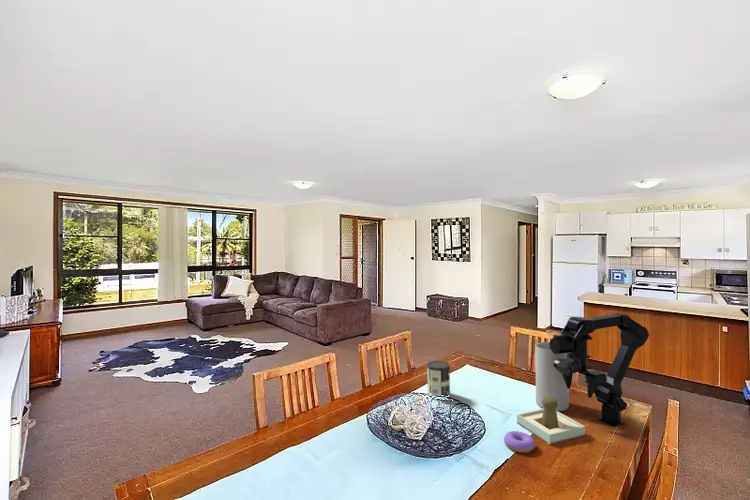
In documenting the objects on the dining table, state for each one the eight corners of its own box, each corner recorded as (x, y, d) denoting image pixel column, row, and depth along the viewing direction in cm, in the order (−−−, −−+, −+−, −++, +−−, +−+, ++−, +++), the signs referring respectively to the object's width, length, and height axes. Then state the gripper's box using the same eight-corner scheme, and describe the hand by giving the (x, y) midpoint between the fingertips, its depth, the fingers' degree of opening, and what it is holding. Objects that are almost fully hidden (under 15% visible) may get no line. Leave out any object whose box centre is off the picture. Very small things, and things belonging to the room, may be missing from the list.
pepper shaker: (561, 432, 133) (561, 402, 132) (543, 431, 134) (543, 401, 133) (556, 424, 139) (556, 395, 138) (539, 423, 140) (538, 394, 139)
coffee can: (447, 390, 173) (447, 360, 173) (452, 399, 163) (451, 368, 163) (426, 390, 174) (425, 360, 173) (428, 399, 163) (428, 368, 163)
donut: (503, 450, 123) (503, 435, 124) (504, 442, 131) (504, 428, 132) (535, 456, 119) (535, 440, 120) (535, 447, 127) (535, 433, 128)
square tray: (550, 415, 146) (549, 407, 146) (584, 435, 131) (584, 426, 131) (517, 423, 141) (517, 414, 141) (549, 444, 126) (549, 434, 126)
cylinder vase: (570, 402, 158) (569, 344, 157) (567, 414, 147) (566, 352, 146) (538, 396, 164) (537, 340, 164) (533, 407, 154) (533, 348, 153)
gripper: (542, 347, 144) (542, 386, 144) (583, 362, 126) (584, 407, 126) (564, 344, 147) (564, 382, 148) (607, 357, 130) (608, 401, 130)
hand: (578, 392), depth 138 cm, fingers open, 9 cm apart
